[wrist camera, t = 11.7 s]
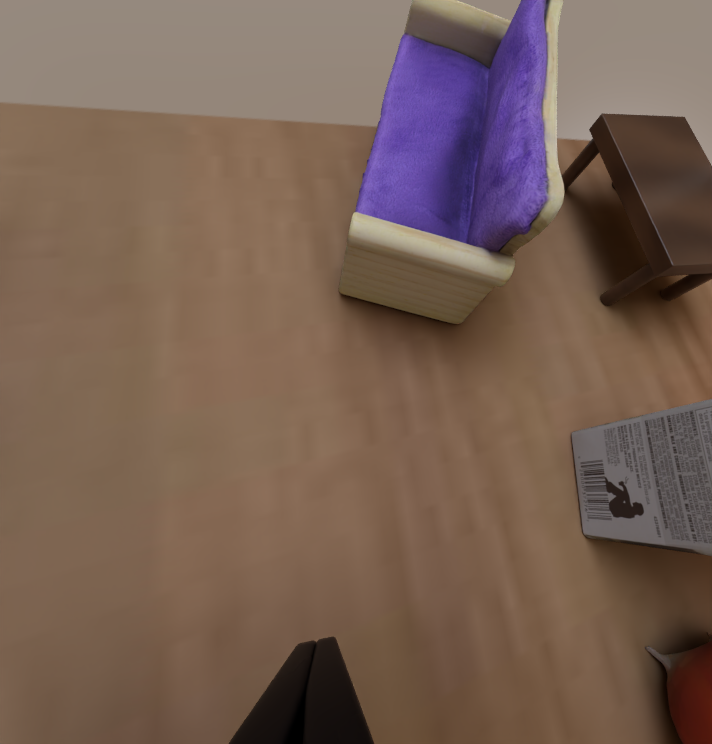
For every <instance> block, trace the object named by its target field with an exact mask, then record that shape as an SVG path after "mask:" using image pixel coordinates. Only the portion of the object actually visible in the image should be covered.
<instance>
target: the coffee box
mask: <svg viewBox="0 0 712 744" xmlns="http://www.w3.org/2000/svg"><path fill="white" fill-rule="evenodd" d="M571 436H572V444H573V452H574V460H575V469H576V478H577V486H578V494H579V502H580V511H581V518H582V527H583V533H584V535H585V536H586V537H588V538H593V539H599V540H607V541H614V542H621V543H628V544H635V545H642V546H648V547H655V548H662V549H668V550H675V551H682V552H689V553H696V554H703V555H709V556H712V399H710V400H706V401H702V402H697V403H693V404H689V405H685V406H680V407H676V408H672V409H668V410H663V411H659V412H655V413H650V414H646V415H642V416H638V417H633V418H628V419H624V420H620V421H616V422H612V423H607V424H603V425H599V426H595V427H591V428H587V429H583V430H578V431H574V432H572V435H571Z"/></svg>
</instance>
